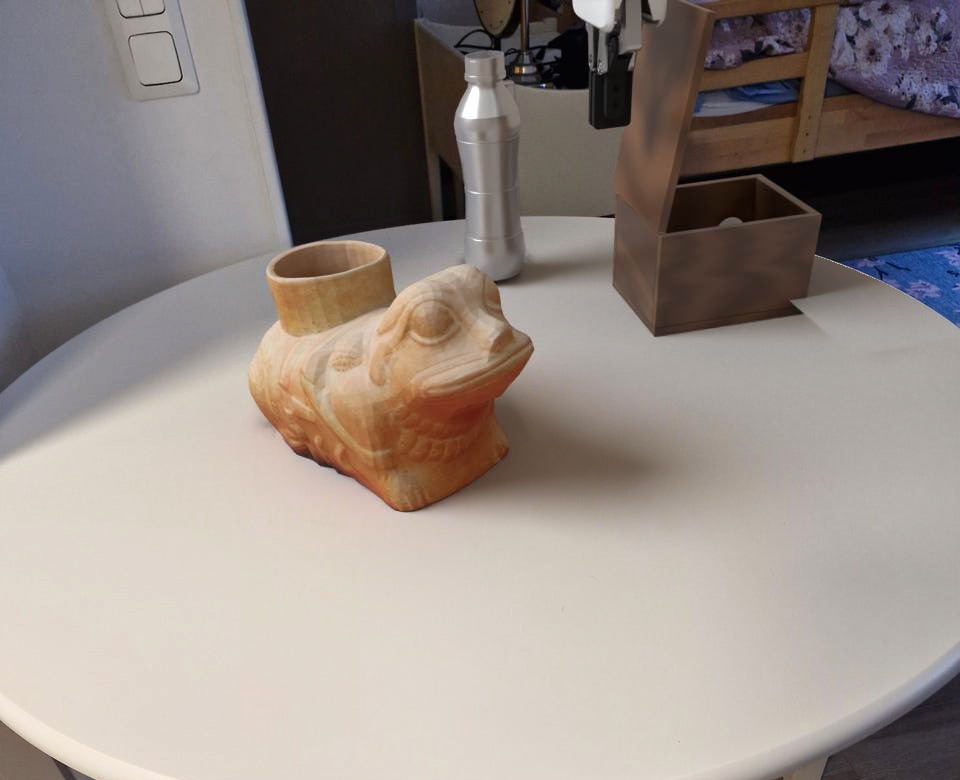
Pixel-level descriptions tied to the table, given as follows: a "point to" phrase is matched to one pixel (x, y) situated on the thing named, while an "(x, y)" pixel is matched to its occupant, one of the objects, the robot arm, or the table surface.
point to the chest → (716, 256)
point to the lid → (662, 109)
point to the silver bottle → (490, 168)
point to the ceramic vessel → (386, 370)
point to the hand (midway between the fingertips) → (609, 125)
